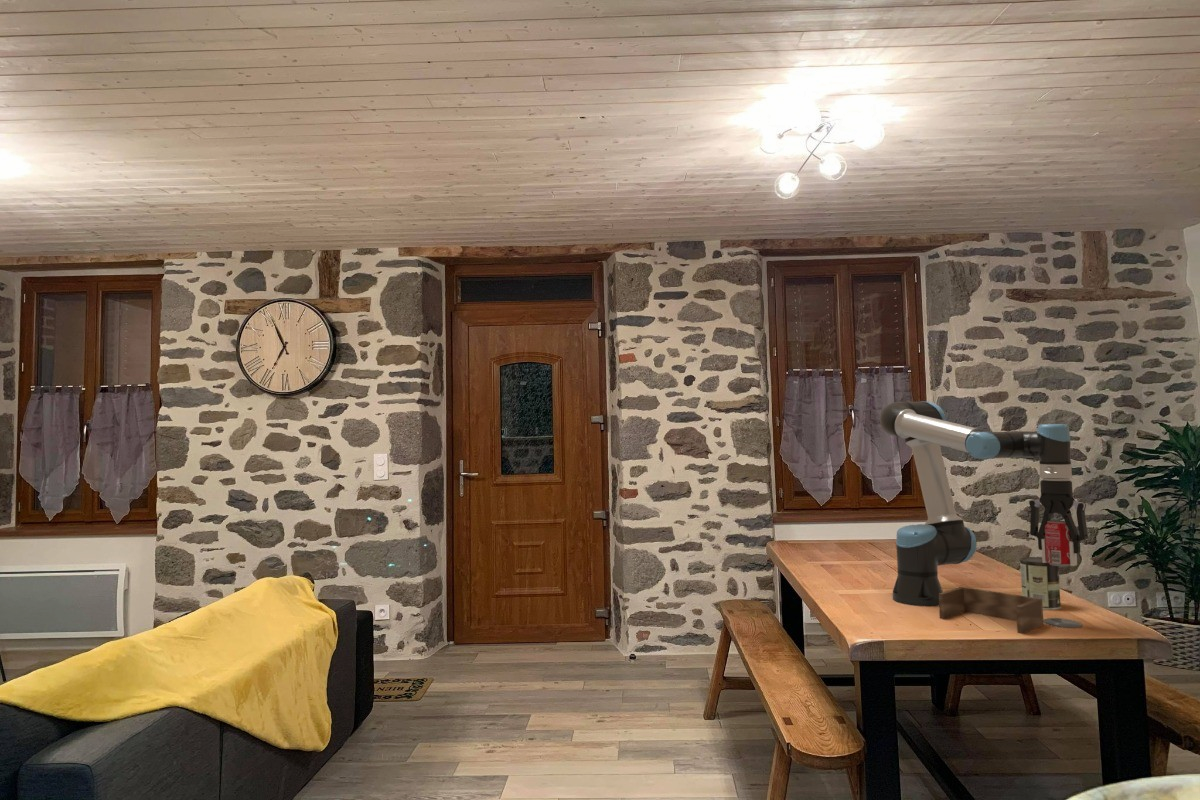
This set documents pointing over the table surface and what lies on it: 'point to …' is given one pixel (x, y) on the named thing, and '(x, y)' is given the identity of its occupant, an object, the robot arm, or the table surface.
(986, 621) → the table surface
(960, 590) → the walnut u-shaped barrier
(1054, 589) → the coffee can
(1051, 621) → the slate coaster
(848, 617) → the table surface
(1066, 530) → the beverage can
